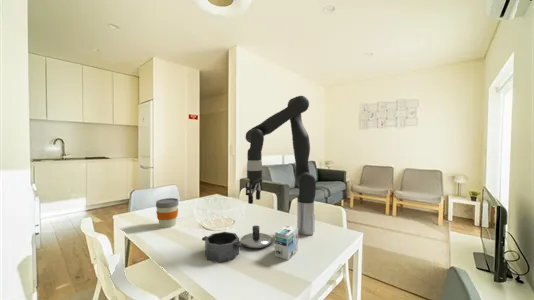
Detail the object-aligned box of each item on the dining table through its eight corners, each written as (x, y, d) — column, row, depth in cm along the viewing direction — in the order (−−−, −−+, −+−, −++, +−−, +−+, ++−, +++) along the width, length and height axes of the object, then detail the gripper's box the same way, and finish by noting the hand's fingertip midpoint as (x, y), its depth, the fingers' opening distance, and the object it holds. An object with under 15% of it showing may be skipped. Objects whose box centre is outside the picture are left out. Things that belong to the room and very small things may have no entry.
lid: (275, 239, 115) (275, 223, 115) (264, 252, 101) (264, 234, 101) (248, 235, 120) (248, 220, 120) (235, 247, 106) (235, 230, 106)
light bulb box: (288, 260, 94) (288, 235, 94) (274, 256, 98) (274, 232, 98) (298, 250, 104) (298, 227, 103) (285, 246, 107) (285, 224, 107)
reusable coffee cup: (169, 220, 144) (168, 197, 143) (183, 223, 138) (183, 199, 138) (151, 227, 132) (150, 201, 132) (166, 230, 127) (165, 204, 126)
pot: (249, 250, 103) (249, 235, 103) (234, 266, 90) (233, 249, 90) (212, 243, 110) (212, 229, 110) (193, 257, 97) (193, 241, 97)
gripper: (255, 171, 103) (255, 205, 104) (266, 168, 116) (266, 198, 117) (240, 170, 106) (240, 204, 107) (253, 167, 119) (253, 197, 120)
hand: (254, 201), depth 112 cm, fingers open, 8 cm apart
